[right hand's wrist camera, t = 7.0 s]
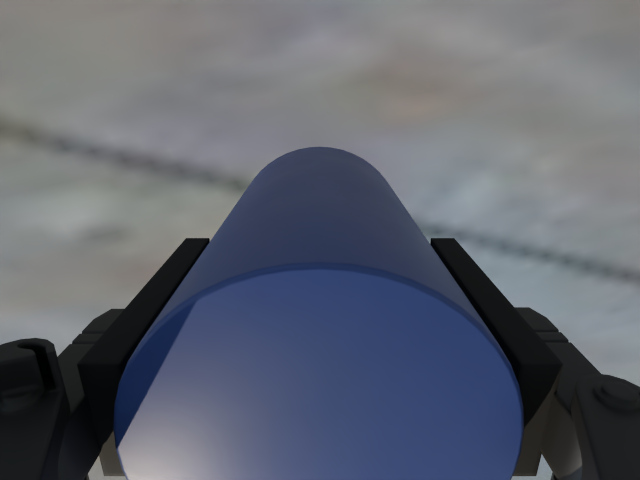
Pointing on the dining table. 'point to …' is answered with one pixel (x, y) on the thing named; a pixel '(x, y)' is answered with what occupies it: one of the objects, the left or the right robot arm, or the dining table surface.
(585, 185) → the dining table surface
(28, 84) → the dining table surface
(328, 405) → the canister
